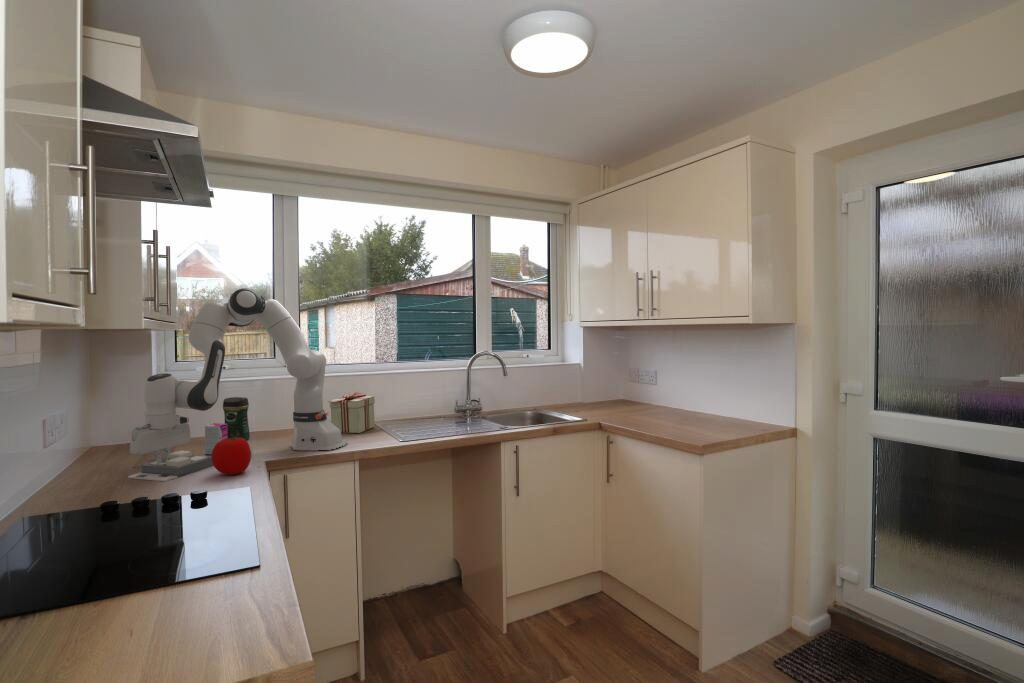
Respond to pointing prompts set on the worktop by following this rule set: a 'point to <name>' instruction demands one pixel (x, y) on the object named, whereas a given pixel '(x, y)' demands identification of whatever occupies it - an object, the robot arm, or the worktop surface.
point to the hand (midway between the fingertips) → (162, 461)
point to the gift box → (353, 413)
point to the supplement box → (214, 436)
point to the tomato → (231, 455)
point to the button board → (171, 469)
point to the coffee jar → (236, 417)
